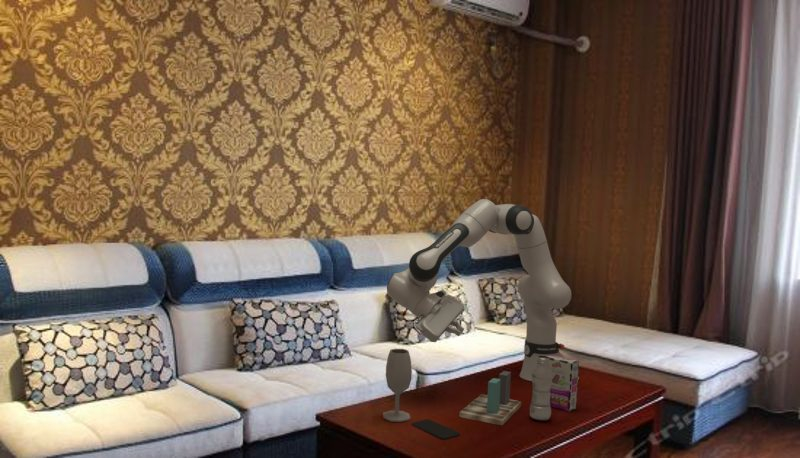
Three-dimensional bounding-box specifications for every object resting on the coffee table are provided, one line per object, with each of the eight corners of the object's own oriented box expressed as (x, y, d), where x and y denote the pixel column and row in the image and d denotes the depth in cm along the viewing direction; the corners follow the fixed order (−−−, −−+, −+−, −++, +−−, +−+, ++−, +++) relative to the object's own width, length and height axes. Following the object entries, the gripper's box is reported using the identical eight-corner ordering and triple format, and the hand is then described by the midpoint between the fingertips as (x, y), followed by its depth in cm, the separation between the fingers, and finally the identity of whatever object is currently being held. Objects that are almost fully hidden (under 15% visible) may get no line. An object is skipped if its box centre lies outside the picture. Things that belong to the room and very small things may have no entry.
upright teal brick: (486, 413, 219) (488, 381, 218) (491, 408, 223) (493, 378, 222) (494, 414, 218) (496, 383, 217) (499, 410, 222) (500, 379, 221)
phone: (428, 418, 216) (462, 433, 204) (427, 421, 216) (461, 436, 204) (409, 423, 211) (443, 438, 199) (409, 426, 211) (443, 441, 199)
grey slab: (497, 404, 228) (499, 374, 227) (501, 400, 232) (503, 370, 231) (504, 406, 226) (506, 375, 226) (509, 401, 231) (511, 372, 230)
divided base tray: (459, 416, 219) (459, 409, 219) (480, 398, 238) (481, 392, 238) (502, 425, 214) (502, 418, 213) (521, 406, 232) (521, 399, 232)
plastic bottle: (550, 424, 217) (554, 360, 215) (528, 421, 218) (532, 358, 217) (550, 417, 223) (554, 355, 222) (529, 414, 224) (532, 353, 223)
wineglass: (378, 414, 218) (381, 348, 217) (403, 411, 222) (406, 346, 220) (388, 424, 210) (391, 355, 209) (415, 421, 214) (418, 353, 212)
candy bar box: (576, 409, 232) (580, 360, 231) (569, 412, 229) (572, 363, 228) (547, 400, 240) (550, 353, 239) (539, 403, 236) (542, 355, 235)
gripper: (415, 318, 225) (450, 343, 221) (445, 287, 240) (478, 310, 237) (409, 331, 229) (443, 356, 225) (438, 299, 244) (471, 322, 241)
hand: (461, 332), depth 231 cm, fingers closed
